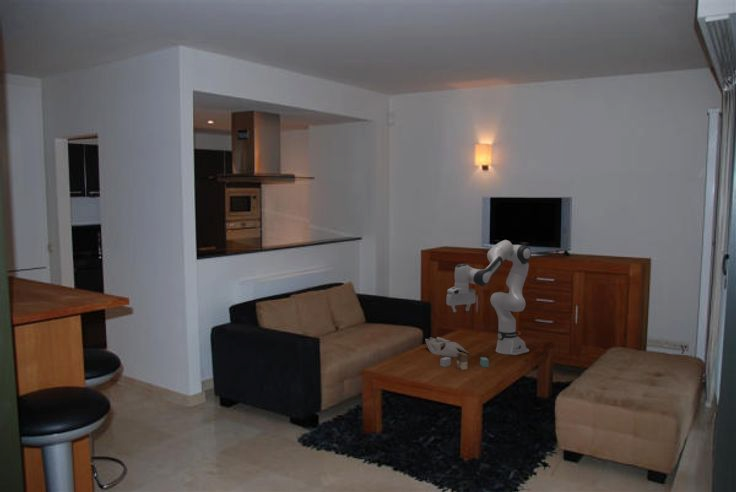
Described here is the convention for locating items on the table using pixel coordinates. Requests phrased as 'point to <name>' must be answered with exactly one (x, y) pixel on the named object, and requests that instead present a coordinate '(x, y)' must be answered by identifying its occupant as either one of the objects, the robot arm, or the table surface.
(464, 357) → the walnut block
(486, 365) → the teal block
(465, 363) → the maple block
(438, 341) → the mask
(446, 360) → the grey block
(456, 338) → the table surface
